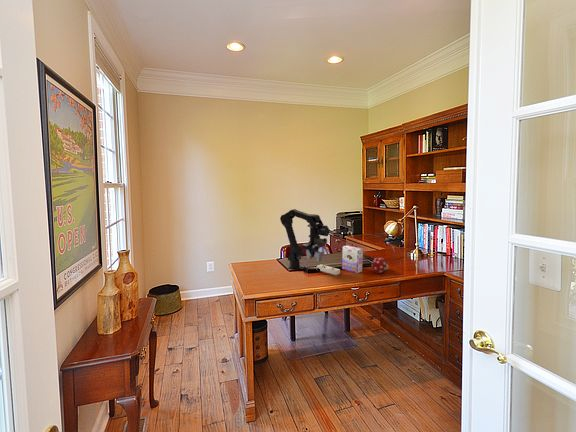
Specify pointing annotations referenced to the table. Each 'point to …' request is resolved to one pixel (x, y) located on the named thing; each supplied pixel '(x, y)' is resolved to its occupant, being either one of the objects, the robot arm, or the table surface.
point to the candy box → (352, 259)
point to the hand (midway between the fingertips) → (313, 256)
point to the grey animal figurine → (316, 254)
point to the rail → (329, 269)
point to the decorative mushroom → (379, 265)
